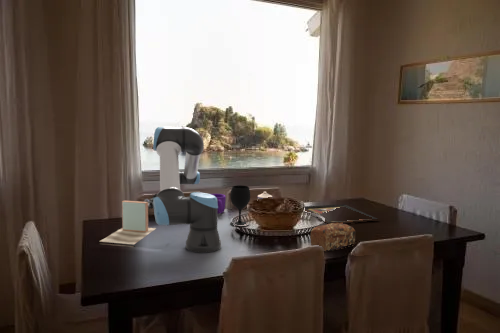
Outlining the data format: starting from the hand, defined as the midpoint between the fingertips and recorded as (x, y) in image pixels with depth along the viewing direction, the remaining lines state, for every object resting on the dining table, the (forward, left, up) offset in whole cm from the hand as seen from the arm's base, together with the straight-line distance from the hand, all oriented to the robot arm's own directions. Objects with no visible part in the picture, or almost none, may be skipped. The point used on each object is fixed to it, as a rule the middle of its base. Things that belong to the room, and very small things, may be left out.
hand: (142, 209), depth 188 cm
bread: (-82, -42, -10) cm, 93 cm away
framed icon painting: (-59, -93, -10) cm, 111 cm away
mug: (-6, -46, -10) cm, 48 cm away
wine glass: (-30, -38, -10) cm, 50 cm away
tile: (-4, +7, -8) cm, 12 cm away
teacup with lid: (-21, -71, -10) cm, 75 cm away
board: (-7, +13, -10) cm, 17 cm away
